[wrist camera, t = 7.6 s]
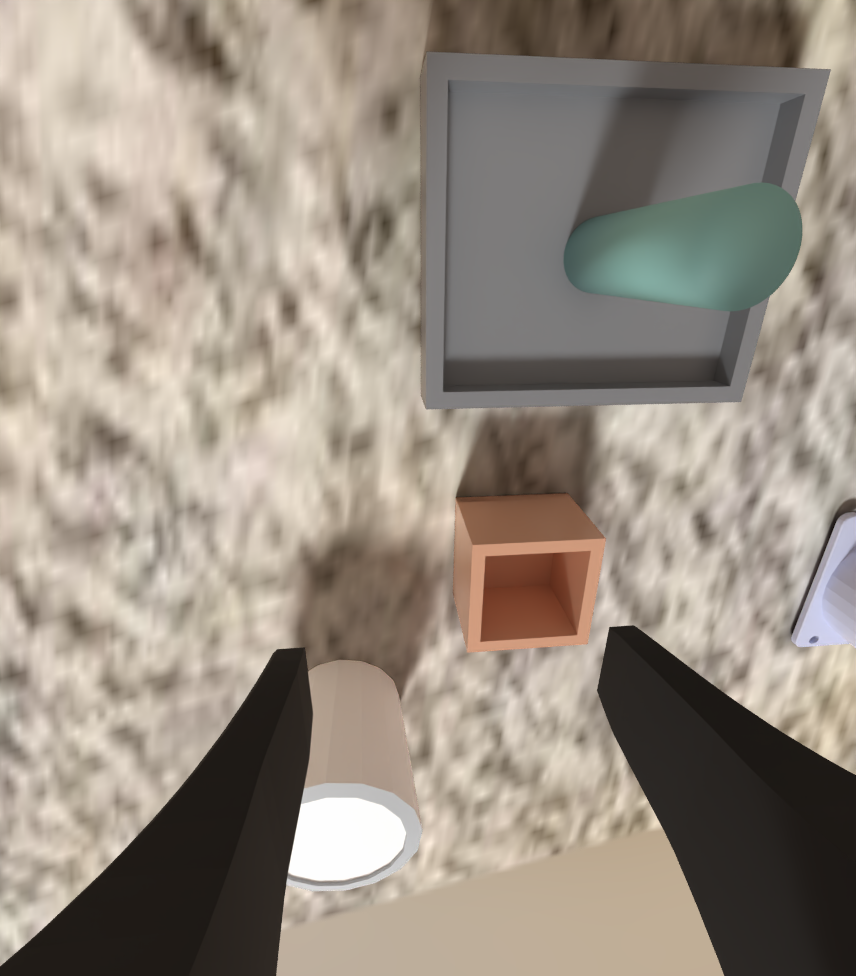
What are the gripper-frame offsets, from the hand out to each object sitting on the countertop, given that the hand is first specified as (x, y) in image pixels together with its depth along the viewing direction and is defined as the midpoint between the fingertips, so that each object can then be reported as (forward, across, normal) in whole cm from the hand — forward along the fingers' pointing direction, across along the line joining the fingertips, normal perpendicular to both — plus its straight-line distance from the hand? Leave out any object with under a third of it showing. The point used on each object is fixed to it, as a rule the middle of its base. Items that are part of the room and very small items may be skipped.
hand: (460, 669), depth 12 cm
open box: (+10, -4, +3) cm, 12 cm away
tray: (+10, -6, -9) cm, 15 cm away
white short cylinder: (+11, +4, +12) cm, 17 cm away
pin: (+9, -6, -9) cm, 14 cm away
